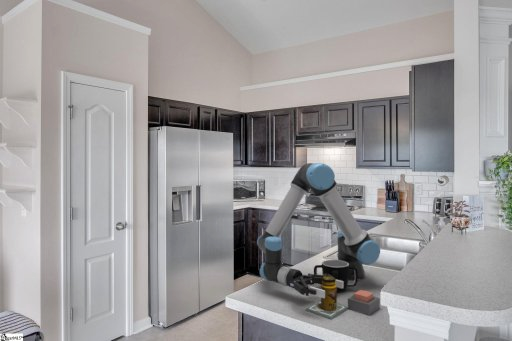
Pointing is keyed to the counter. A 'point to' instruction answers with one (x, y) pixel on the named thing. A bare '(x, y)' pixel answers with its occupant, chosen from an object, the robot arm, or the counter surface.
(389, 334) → the counter surface
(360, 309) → the button housing
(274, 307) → the counter surface
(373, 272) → the counter surface
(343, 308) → the slate board
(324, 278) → the condiment
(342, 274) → the mug
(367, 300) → the button
